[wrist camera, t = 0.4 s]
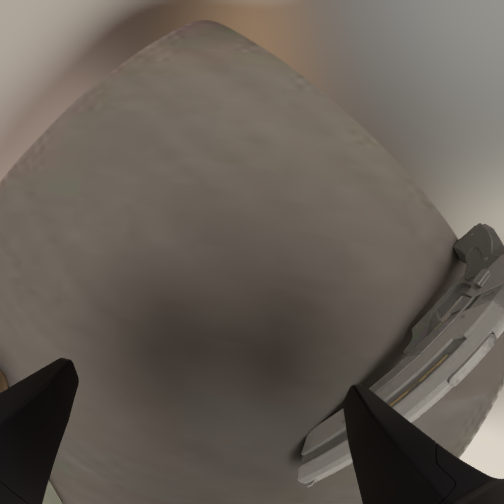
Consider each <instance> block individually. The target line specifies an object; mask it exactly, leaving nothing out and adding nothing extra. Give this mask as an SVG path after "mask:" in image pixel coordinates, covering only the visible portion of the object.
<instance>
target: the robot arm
mask: <svg viewBox="0 0 504 504" xmlns="http://www.w3.org/2000/svg"><path fill="white" fill-rule="evenodd" d="M78 383H79V379H78V375H77V372H76V370H75V367H74V364H73V362H72V361H71V360H69V359H65V358H59V359H58V360H56V361H54V362H52V363H51V364H49V365H47V366H45V367H44V368H42V369H40V370H39V371H37V372H35V373H33V374H32V375H30V376H28V377H27V378H25V379H23V380H21V381H20V382H18V383H16V384H15V385H13V386H11V387H9V388H8V389H6V390H4V391H3V392H1V393H0V504H43V499H44V496H45V492H46V488H47V484H48V481H49V477H50V474H51V471H52V467H53V464H54V461H55V458H56V455H57V452H58V449H59V446H60V443H61V440H62V437H63V434H64V431H65V429H66V426H67V423H68V420H69V417H70V413H71V409H72V405H73V401H74V398H75V394H76V391H77V387H78ZM343 410H344V417H345V424H346V431H347V439H348V445H349V449H350V453H351V457H352V461H353V465H354V469H355V473H356V477H357V481H358V485H359V489H360V493H361V497H362V502H363V504H504V479H497V478H493V477H490V476H488V475H486V474H484V473H482V472H481V471H479V470H477V469H475V468H474V467H472V466H470V465H468V464H467V463H465V462H463V461H462V460H460V459H459V458H457V457H455V456H454V455H453V454H451V453H450V452H448V451H447V450H446V449H444V448H443V447H442V446H440V445H439V444H438V443H436V442H435V441H434V440H432V439H431V438H430V437H429V436H427V435H426V434H425V433H423V432H422V431H421V430H420V429H418V428H417V427H416V426H415V425H413V424H412V423H411V422H410V421H408V420H407V419H406V418H405V417H403V416H402V415H401V414H400V413H398V412H397V411H396V410H395V409H393V408H392V407H391V406H390V405H388V404H387V403H386V402H385V401H383V400H382V399H381V398H380V397H379V396H377V395H376V394H375V393H374V392H372V391H371V390H370V389H369V388H368V387H366V386H365V385H363V384H359V385H352V386H351V387H350V389H349V391H348V393H347V395H346V397H345V400H344V402H343Z"/></svg>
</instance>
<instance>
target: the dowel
mask: <svg viewBox="0 0 504 504" xmlns="http://www.w3.org/2000/svg"><path fill="white" fill-rule="evenodd" d="M6 389H8V382H7V379H6V377H5V375H4V373H3V372H2V371H1V370H0V393H1V392H3V391H4V390H6Z"/></svg>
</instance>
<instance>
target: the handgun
mask: <svg viewBox="0 0 504 504" xmlns="http://www.w3.org/2000/svg"><path fill="white" fill-rule="evenodd" d="M453 248H454V250H455V252H456V253H457V255H458V257H459V258H460V260H461V261H462V262H464V263H466V270H465V274H464V275H463V276H462V278H461V279H459V280H457V281H455V282H454V283H453V285H452V286H451V287H450V288H449V289H448V290H447V292H446V293H445V294H444V295H443V296H442V297H441V298H440V300H439V301H438V302H437V303H436V304H435V305H434V306H433V307H432V308H431V309H430V310H429V311H428V312H427V314H426V315H425V316H424V317H423V318H422V319H421V320H420V321H419V322H418V323H417V324H416V325H415V326H414V327H413V328H412V333H413V335H412V339H411V342H410V343H409V345H408V346H407V347H406V348H405V350H404V351H403V353H404V354H405V355H406V357H405V358H404V359H403V360H402V361H401V362H400V363H399V364H398V365H396V366H395V367H394V368H393V369H392V370H391V371H389V372H388V373H387V374H386V375H385V376H383V377H382V378H381V379H380V380H379V381H377V382H376V383H375V384H374V385H372V386H371V387H370V388H369V389H370V390H371V391H372V392H374V393H375V394H376V395H377V396H379V397H380V398H381V399H382V400H383V401H385V402H386V403H387V404H388V405H390V406H391V407H392V408H393V409H395V410H396V411H397V412H398V413H400V414H401V415H402V416H403V417H405V418H406V419H407V420H408V421H410V422H411V423H412V422H413V421H414V420H416V419H417V418H418V417H419V416H421V415H422V414H423V413H424V412H426V411H427V410H428V409H429V408H430V407H431V406H433V405H434V404H435V403H436V402H437V401H438V400H439V399H441V398H442V397H443V396H444V395H445V394H446V393H447V392H448V391H449V390H450V389H451V387H455V386H457V385H458V384H459V383H460V382H461V381H462V380H463V379H464V378H465V377H466V375H467V374H468V373H469V372H470V371H471V370H472V369H473V368H474V367H475V366H476V365H477V364H478V363H479V362H480V360H481V359H482V358H483V357H484V356H485V355H486V354H487V353H488V351H489V350H490V349H491V348H492V347H493V345H494V344H495V341H496V339H498V337H499V336H500V335H501V334H502V332H503V331H504V245H503V243H502V242H501V240H500V238H499V237H498V235H497V233H496V232H495V230H494V229H493V228H491V227H490V226H488V225H486V224H483V225H482V224H481V223H479V224H478V225H476V226H474V227H473V228H472V229H471V230H470V231H469V232H468V233H467V234H466V235H464V236H463V237H462V238H461V239H459V240H458V241H457V242H456V244H455V245H454V246H453ZM461 296H464V297H463V298H462V299H461V301H460V302H459V303H458V304H457V305H456V306H455V308H454V309H453V310H452V311H451V312H450V313H451V315H450V316H449V318H448V319H447V320H446V321H444V322H441V321H440V318H441V317H442V316H443V315H444V314H445V313H446V312H447V311H448V310H449V309H450V308H451V307H452V306H453V304H454V303H455V302H456V301H457V300H458V299H459V298H460V297H461ZM301 454H302V455H303V458H302V466H300V467H299V468H298V479H297V481H299V482H301V483H302V484H304V485H305V486H307V487H310V486H312V485H313V484H314V483H315V482H317V481H320V480H322V479H324V478H326V477H327V476H329V475H331V474H333V473H335V472H337V471H339V470H341V469H342V468H344V467H346V466H348V465H349V464H351V463H353V461H352V457H351V453H350V449H349V445H348V439H347V431H346V424H345V417H344V410H343V409H341V410H340V411H338V412H337V413H335V414H334V415H332V416H331V417H330V418H328V419H326V420H325V421H323V422H322V423H320V424H319V425H318V426H317V427H315V428H314V429H313V430H312V431H311V432H310V433H309V434H308V435H307V437H306V440H305V444H304V447H303V450H302V453H301Z"/></svg>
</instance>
